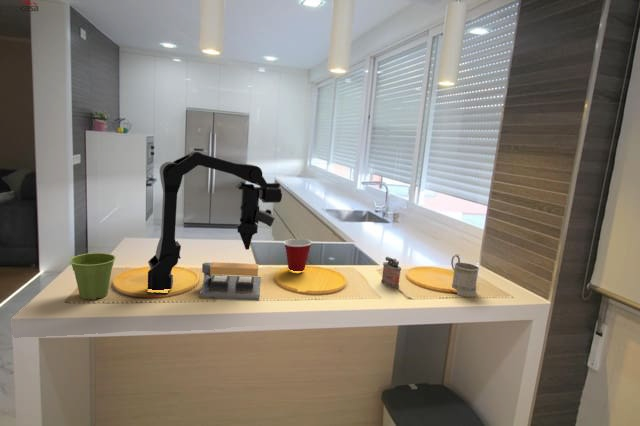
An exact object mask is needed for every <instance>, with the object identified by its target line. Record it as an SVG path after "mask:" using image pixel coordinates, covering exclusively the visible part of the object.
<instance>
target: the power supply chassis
mask: <svg viewBox="0 0 640 426" xmlns="http://www.w3.org/2000/svg"><path fill="white" fill-rule="evenodd" d="M261 279H262V277H261V276H239V275H213V274H210V273H209V274H206V273H203V285H202V286H201V290H200V292H199V298H200V297H215V298H214V299H229V300H230V299H234V300H235V299H237V300H238V299H239V300H260V297H261V296H260V295H261Z"/></svg>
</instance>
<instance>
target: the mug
mask: <svg viewBox="0 0 640 426" xmlns="http://www.w3.org/2000/svg"><path fill="white" fill-rule="evenodd" d="M460 256H461V255H460V254H457V253H456V254H454V255H453V256H452V258H451V261H450V263H451V268H452V270H453V278H452V284H451V286H452V288H454V289H456V290H457V291H458V292H457V294H456V295H457V296H462V297H468V298H469V297H470V298H471V297H477V296H478V292H477V289H476V287H477V279H478V275H479V271H480V267H479V266H477V265H474V264H471V263H469V262H467V263H466V262H461V259H460ZM455 257H456V258H457V262H456V263H454V259H455Z"/></svg>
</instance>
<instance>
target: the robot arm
mask: <svg viewBox="0 0 640 426" xmlns="http://www.w3.org/2000/svg"><path fill="white" fill-rule="evenodd" d="M198 166H201V167H205V168H208V169H212V170H215V171H219V172H223V173H226V174H230V175H233V176H235V177H237V178H239V179H240V180H243V181H246V182H247V183H245V182H243V181H240V182H239V183H238V184H237V185H235V188H236V189H237V190H241V199H240V200H241V202H240V218H239V222H240V223H238V225H237V233H239V235H240V238H241V241H242V243H243V246H244V249H245V250H249V249H250V247H251V243H252V239H253V236H254V235H255V234H258V228H259V225H258V224H260V223H262V224H265V225H266V226H269V227H272V226H273V223H274V221H275V218H276V217H275V215H274V214H272V210H271V209H268V208H266V210H265V211H264V210H262V209H260V205H259V202H260V201H261V202H262V203H264V204H268V203H270V204H271V203H272V204H273V203H275V204H278V203H281V201H282V198H283V193H282V189H281V186H280V185H281V184H280V183H279V182H271V183H270V182H267V181H266V179H265V178H264V176H263V170H262V169H261V168H260V166H258V165H254V164H249V163H238V162H232V161H227V160H225V159H222V158H221V159H220V158H217V157H214V156H211V155H207V154H203V153H201V152H200V151H194V150H193V151H191V152H190V153H188V154H186V155H183V156H182V157H180V158H177V159H176V160H174V161H166V162H164V163H162V164H161V165H160V168H159V177H160V183H161V189H162V206H161V207H162V210H161V227H160V230H161V231H160V238H159V240H158V243H157V246H156V250H155V255H154V256H152V257H151V258H150V259H149V260H148V261H147V264H148V265H149V268H150V269H149V270H148V271H147V289H152V290H164V289H171V288H173V287H172V286H174V275H173V274H172V270H173V268H174V267H175V266H176V265H178V263H179V260H180V259H181V258H182V257H181V253H180V252H181V249H182V246H181V244H180V242H179V241H178V240H177V241H176V222H177V221H176V219H177V205H178V193H179V190H180V187H181V184H182V180H183V177H184V176H185V175H186V174H187V173H190V172H191V171H192V170H193V169H195V168H197V167H198ZM255 185H256V186H255ZM171 290H172V289H171Z"/></svg>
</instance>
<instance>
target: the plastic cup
mask: <svg viewBox="0 0 640 426" xmlns="http://www.w3.org/2000/svg"><path fill="white" fill-rule="evenodd" d="M312 244H313V241H312V240H310V239H307V238H290V239H286V240H284V241H283V245H284V247H285V251H286V260H287V261H286V262H287V267H288V268H289V269H290V270H293V271H303V270H304V271H305V270H306V269H305V268H306V264H307V262H308V257H309V253H310V249H311V245H312ZM288 268H287V269H288Z"/></svg>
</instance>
